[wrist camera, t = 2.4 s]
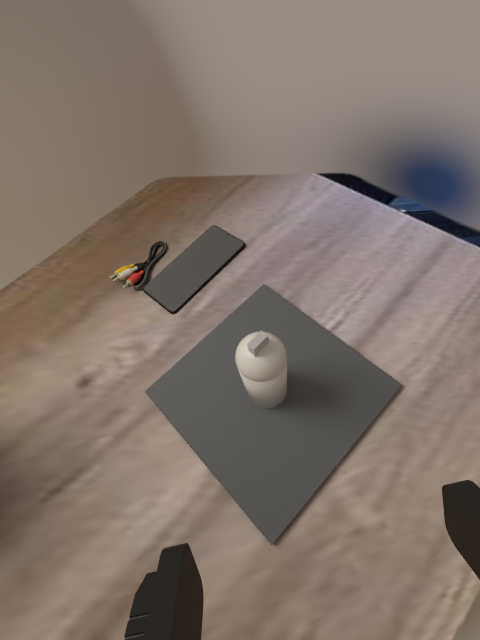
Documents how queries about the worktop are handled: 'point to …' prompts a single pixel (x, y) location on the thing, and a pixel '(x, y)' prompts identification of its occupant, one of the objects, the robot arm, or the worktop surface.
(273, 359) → the white pump bottle
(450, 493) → the robot arm
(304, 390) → the mat
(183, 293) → the smartphone
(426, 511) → the worktop surface
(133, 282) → the composite cable
